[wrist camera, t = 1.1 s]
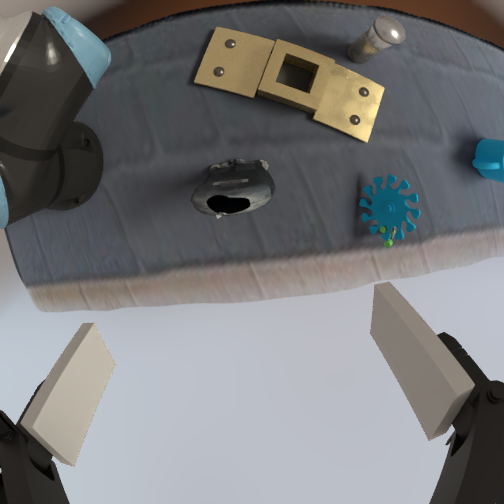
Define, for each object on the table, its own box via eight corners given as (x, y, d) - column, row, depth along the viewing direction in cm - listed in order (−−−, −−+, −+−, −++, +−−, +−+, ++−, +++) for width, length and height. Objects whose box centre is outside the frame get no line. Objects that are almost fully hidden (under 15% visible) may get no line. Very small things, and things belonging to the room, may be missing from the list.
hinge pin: (342, 58, 34) (372, 32, 22) (348, 38, 32) (378, 9, 21) (366, 69, 34) (402, 49, 23) (372, 50, 33) (407, 26, 21)
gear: (359, 170, 39) (422, 180, 32) (373, 170, 43) (429, 179, 36) (354, 239, 43) (411, 256, 36) (368, 232, 47) (420, 246, 40)
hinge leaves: (195, 83, 35) (189, 77, 31) (217, 29, 32) (214, 18, 28) (364, 142, 38) (375, 142, 35) (381, 88, 35) (393, 84, 31)
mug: (494, 137, 36) (521, 140, 29) (499, 175, 39) (525, 182, 32) (460, 141, 38) (489, 144, 30) (465, 183, 40) (493, 192, 33)
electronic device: (205, 195, 41) (183, 220, 27) (205, 158, 39) (182, 163, 25) (268, 196, 42) (278, 221, 27) (269, 159, 40) (281, 165, 26)
